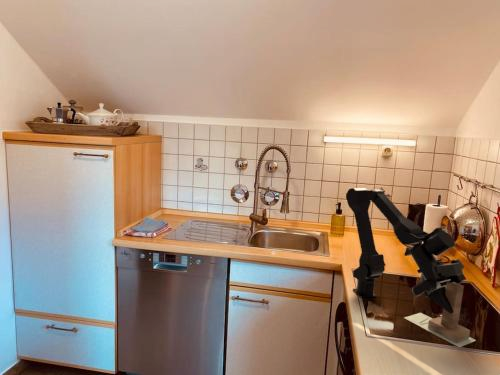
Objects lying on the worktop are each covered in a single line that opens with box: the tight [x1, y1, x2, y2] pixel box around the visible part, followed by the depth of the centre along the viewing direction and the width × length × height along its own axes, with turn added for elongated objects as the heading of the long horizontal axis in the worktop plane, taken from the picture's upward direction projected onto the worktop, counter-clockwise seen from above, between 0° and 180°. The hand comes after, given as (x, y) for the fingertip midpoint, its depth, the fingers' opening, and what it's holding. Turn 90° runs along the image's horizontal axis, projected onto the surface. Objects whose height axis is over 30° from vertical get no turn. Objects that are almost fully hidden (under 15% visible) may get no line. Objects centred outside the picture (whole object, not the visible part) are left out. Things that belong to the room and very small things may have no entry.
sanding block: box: [428, 282, 471, 343], centre depth 112 cm, size 9×6×15 cm, turn 31°
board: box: [404, 312, 477, 348], centre depth 115 cm, size 18×8×1 cm, turn 31°
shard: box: [366, 300, 389, 318], centre depth 126 cm, size 11×8×2 cm
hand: (455, 311), depth 111 cm, fingers closed on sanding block, 3 cm apart
